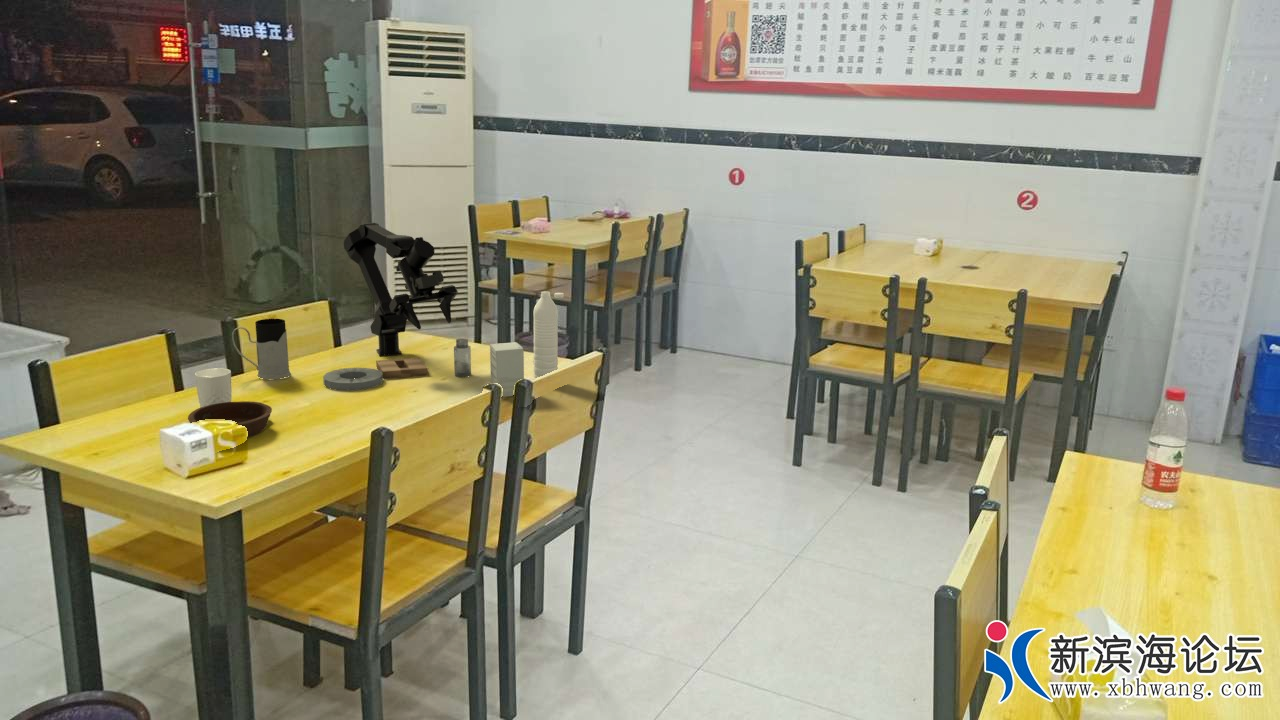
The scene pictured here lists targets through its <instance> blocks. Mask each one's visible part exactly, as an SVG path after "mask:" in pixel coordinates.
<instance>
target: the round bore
mask: <svg viewBox="0 0 1280 720" xmlns="http://www.w3.org/2000/svg"><path fill="white" fill-rule="evenodd" d="M354 378H355V379H354ZM322 382H323V385H325V386H326V388H327V387H328V389H330V388H331V389H330V390H334V389H336V390H335V391H347V390H353V391H362V390H363V389H364V390H367V389H373V388H375V387H378V386H380V385H381V384H382V383H384V379H383V374H382V372H381V371H379V370H378V369H377V368H369V367H345V368H339V369H335V370H334V369H333V370H332V371H331V370H330V371H328V372H326V373H325V374H324V375H323V376H322ZM325 386H324V387H325Z"/></svg>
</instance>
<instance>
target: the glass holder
mask: <svg viewBox="0 0 1280 720" xmlns="http://www.w3.org/2000/svg"><path fill="white" fill-rule="evenodd" d="M254 326H255V333H256V334H255V336H256V340H255V341H254V340H251V334H250V332H249V330H248V329H247V328H245V327H243V326H238V327H236V328H234V329H233V331H232V332H231V333H232V334H231V338H232V339H231V341H232V345H233V347H234V349H235V350H236V352H237V353H238V355H240V356H241V357H242V358H243V359H244V360H246V361H247V362H249V363H250V364H252V365H254V366H255V367H256V370H257V371H258V372H257V373H258V374H257V375H256V377H257V376H258V377H260V378H263V379H280V378H284V377H288V376H290V375H291V376H292V373H291V372H290V364H289V363H290V362H289V347H288V336H287V329H286V320H285V319H282V318H264V319H259V320H257V321H255V325H254ZM239 329H242V330H243V331H245V332H246V333H247V336H248V340H249V342H251V343H252V344H255V345H256V359H257V363H256V362H253V361H252V360H251V359H249V358H248V357H246V356H245V355H244V354H243V353H242V352H241V351H240V350H239V349H238V346H237V344H236V342H235V338H234V334H235V332H236V330H239ZM291 376H290V377H291ZM288 378H289V377H288ZM280 380H281V379H280Z"/></svg>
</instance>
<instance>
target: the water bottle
mask: <svg viewBox="0 0 1280 720" xmlns="http://www.w3.org/2000/svg"><path fill="white" fill-rule="evenodd" d="M540 293H541V294H540V298H539V299H538V301H537V302H536V304H535V306H534V308H533V379H534V378H537V377H540V376H543V375H545V374H547V373H550V372H552V371H554V370H557V369H559V367H558V364H559V360H558V356H559V354H558V352H559V347H558V343H559V338H558V337H559V334H558V333H559V329H558V326H559V325H558V323H559V322H558V321H559V318H558V317H559V309H558V307H557V305H556V304H555V302H554V300H553V299H552V297H551V296H552V295H551V292H550V291H549V290H548V291H547V290H544V291H541V292H540ZM553 295H554V296H553V297H554V298H557V299H558V298H559V299H560V298H561V299H563V298H564V297H565V295H564V292H555V293H553Z"/></svg>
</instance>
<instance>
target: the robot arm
mask: <svg viewBox="0 0 1280 720" xmlns="http://www.w3.org/2000/svg"><path fill="white" fill-rule="evenodd" d="M377 244H378V245H380V246H381V247H383V248H384V249H385V253H386V254H387V255H388V256H389V257H390V258H391V259H399V258H401V259H400V261H397V266H396V269H395V271H396V272H401V276H402V279H403V280H404V282H405V283H404V284H405V285H404V289H405V290H408V292H409V294H410V296H409V294H408V293H402V294H396V295H394V296H393V297H391V295H390V292H389V289H388V286H387V284H386V281H385V280H384V277H383V275H382V273H381V271H380V269H379V268H380V267H379V266H378V264H377V261H376V259H375V255H376V250H377V247H376V245H377ZM343 248H344V250H345V251H346V253H347V255H348V257H349V259H350V260H351V261H353V262H355V263H356V264H357V265H358V267H359V269H360V272H361V273H362V275H363V276H362V277H363V278H364V280H365V283H366V285H367V288H368V290H369V292H370V295H371V297H372V299H373V303H374V305H375V308H374V313H373V315H374V316H373V317H374V319H373V321H372V322H371V324H370V331H371V334H373V335H375V336H378V348H377V349H376V353H377V354H378V356H379V357H383V356H395V355H403V351H401V349H400V346H399V345H400V344H399V343H400V342H399V340H400V339H399V333H405V332H406V327H407V321H408V322H409V323H410V324H412V325H413V326H414V327H415V328H416V329H418V330H421V329H422V326H421V322H420V320H419V318H418V316H417V314H416V312H415V309H414V305H415V304H420V303H424V302H425V303H426V302H430V301H435V300H437V302H438V303H439V305H438V306H439V308H440V310H441V312H442V314H443V316H444V318H445V320H446V321H447V323H448V324H451V323H452V314H451V313H452V312H451V310H452V309H451V305H452V304H451V303H452V301H454V299H455V298H456V296H457V295H458V294H459V290H458V288H457V287H456V286H455V285H453V284H449V285H443V286H441V288H440V289H439V290H438V292H436V291H435V290H436V287H438V286H440V283H443V282H445V281H444V280H445V278H444V276H443V273H442V270H435V271H434V272H432V274H430V275H429V274H428V273H425V272H424V270H423V268H425V267H426V266H427V264H428V263H429V262H430V260H431V259H432V258H433V256H434V255H435V247H434V246H433V245H432V244H431V243H430V242H429V241H427V240H425V239H424V238H423V236H420V237H415V238H414V237H413V236H410V235H406V234H405V235H403V234H401V235H400V234H397V233H396V234H395V233H394V232H392V231H390V230H388V229H386V228H384V227H383V226H381V225H380V224H379V223H378V222H366V223H365V222H363V223H361V224H360V225H359V226H358V227H357V228H356V229H354V230H352V231H351V232H350V233H348V234H347V236H346V237H345V239H344V241H343ZM433 291H435V292H433Z"/></svg>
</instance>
